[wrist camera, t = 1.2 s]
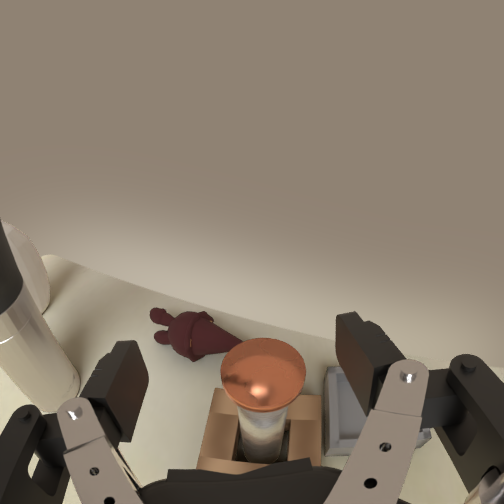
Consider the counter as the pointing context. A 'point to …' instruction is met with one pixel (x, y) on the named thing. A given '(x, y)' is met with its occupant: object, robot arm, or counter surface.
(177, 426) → the counter surface
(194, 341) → the icecream
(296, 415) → the hitch block
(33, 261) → the soap bottle
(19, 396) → the counter surface
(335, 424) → the tray
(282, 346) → the pin
